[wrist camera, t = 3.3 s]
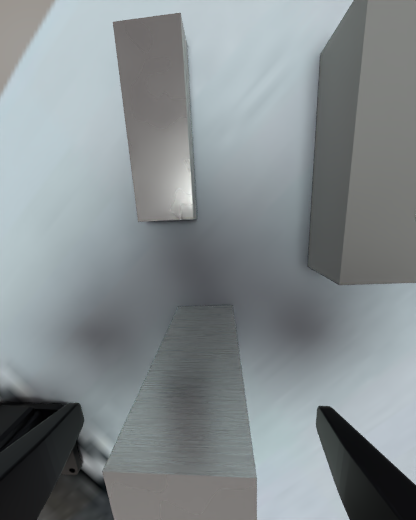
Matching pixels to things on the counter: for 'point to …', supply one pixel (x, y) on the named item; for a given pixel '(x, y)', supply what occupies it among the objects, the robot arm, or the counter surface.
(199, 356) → the square bit
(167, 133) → the flat bit
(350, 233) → the bore block
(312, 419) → the counter surface
